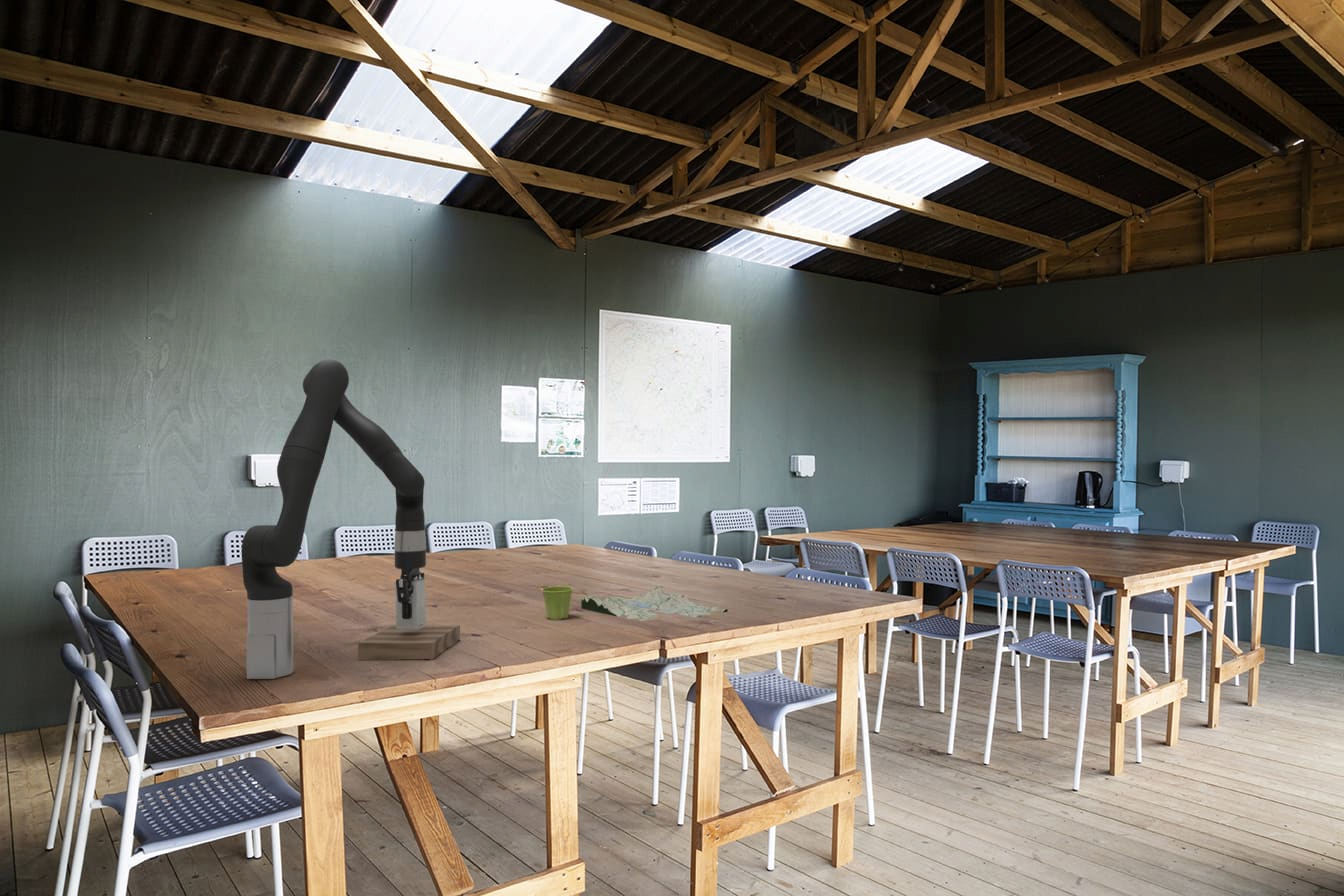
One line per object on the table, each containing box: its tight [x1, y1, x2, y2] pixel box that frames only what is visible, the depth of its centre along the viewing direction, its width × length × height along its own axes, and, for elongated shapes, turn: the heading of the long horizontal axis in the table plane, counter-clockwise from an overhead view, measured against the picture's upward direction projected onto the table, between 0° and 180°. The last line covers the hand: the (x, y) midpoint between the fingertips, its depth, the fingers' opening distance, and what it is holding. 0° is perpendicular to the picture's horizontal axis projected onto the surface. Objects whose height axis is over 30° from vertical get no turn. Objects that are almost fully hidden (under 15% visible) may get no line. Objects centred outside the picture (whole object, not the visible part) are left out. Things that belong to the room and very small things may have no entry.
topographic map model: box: [580, 584, 729, 622], centre depth 272 cm, size 36×29×5 cm
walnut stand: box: [357, 624, 461, 661], centre depth 220 cm, size 22×18×4 cm
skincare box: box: [395, 578, 427, 630], centre depth 220 cm, size 6×4×12 cm
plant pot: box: [541, 585, 574, 621], centre depth 260 cm, size 9×9×9 cm
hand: (410, 616), depth 220 cm, fingers closed on skincare box, 4 cm apart
